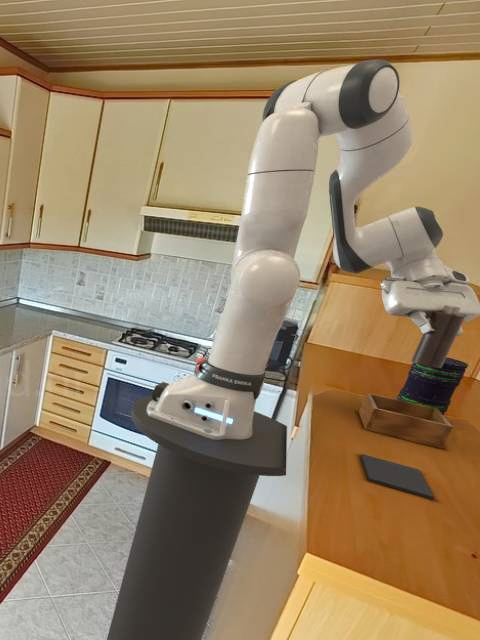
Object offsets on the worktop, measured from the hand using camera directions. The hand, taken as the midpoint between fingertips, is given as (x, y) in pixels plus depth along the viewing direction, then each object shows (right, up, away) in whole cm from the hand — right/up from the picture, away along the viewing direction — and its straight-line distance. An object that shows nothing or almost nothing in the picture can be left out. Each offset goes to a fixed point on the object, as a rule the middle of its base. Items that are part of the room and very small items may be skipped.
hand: (443, 333), depth 105 cm
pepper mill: (-1, -6, +3) cm, 7 cm away
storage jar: (+13, -19, +20) cm, 30 cm away
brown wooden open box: (-2, -21, +9) cm, 23 cm away
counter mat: (-24, -28, -15) cm, 39 cm away
